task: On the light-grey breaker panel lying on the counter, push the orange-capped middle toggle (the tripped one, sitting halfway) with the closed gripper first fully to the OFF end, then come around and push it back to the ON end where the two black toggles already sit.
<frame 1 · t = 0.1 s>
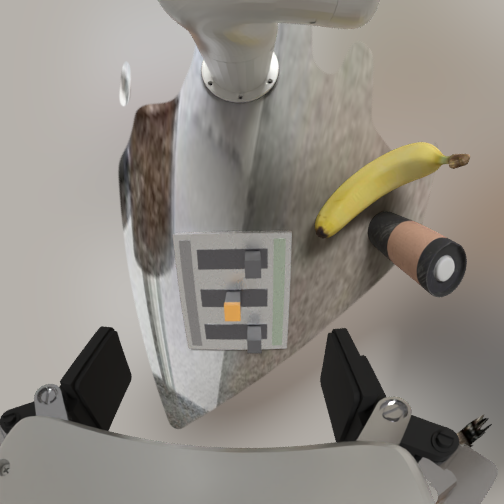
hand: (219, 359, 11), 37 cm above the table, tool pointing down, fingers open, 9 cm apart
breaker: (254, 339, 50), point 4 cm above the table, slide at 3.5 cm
travel mug: (384, 229, 47), on the table
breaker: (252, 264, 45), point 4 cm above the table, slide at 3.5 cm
panel: (234, 294, 51), on the table
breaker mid: (233, 305, 47), point 4 cm above the table, slide at 0.0 cm
banana: (357, 185, 45), on the table
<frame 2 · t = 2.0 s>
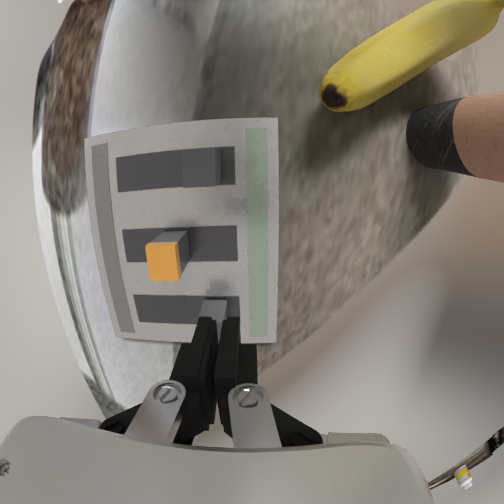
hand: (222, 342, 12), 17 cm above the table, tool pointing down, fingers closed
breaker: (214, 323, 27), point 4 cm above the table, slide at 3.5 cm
travel mug: (429, 137, 25), on the table
supplement bottle: (459, 468, 62), on the table
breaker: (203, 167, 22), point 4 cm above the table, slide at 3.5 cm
panel: (181, 240, 28), on the table
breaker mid: (169, 253, 24), point 4 cm above the table, slide at 0.0 cm
banana: (381, 63, 22), on the table
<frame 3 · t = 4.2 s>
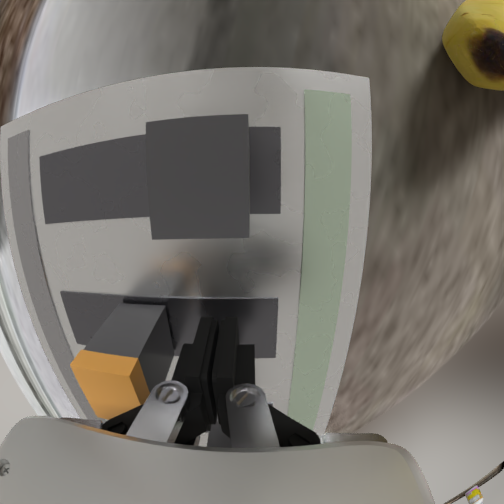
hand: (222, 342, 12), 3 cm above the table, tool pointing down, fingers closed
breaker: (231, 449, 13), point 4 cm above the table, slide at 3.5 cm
supplement bottle: (470, 488, 48), on the table
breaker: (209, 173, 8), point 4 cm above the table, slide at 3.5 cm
panel: (166, 312, 15), on the table
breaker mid: (130, 360, 11), point 4 cm above the table, slide at -0.6 cm, touching gripper
banana: (485, 34, 9), on the table
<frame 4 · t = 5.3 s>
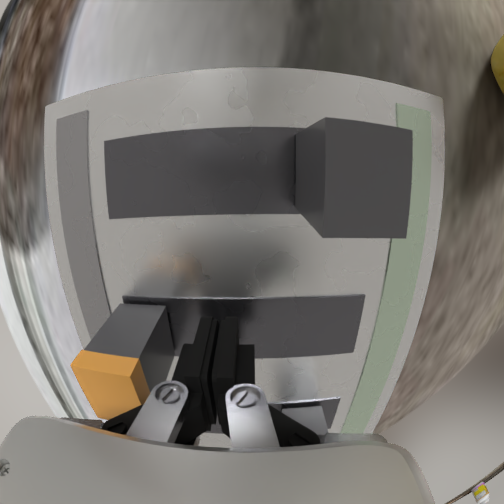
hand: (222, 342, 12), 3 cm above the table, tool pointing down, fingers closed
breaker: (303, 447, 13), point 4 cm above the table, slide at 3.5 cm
supplement bottle: (477, 485, 48), on the table
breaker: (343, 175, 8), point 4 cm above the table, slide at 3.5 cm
panel: (243, 314, 15), on the table
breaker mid: (131, 360, 11), point 4 cm above the table, slide at -4.8 cm, touching gripper
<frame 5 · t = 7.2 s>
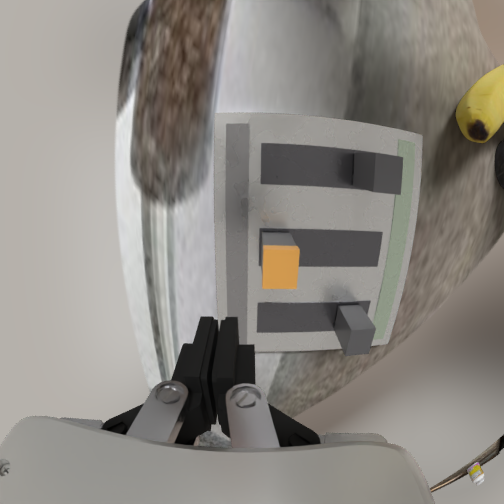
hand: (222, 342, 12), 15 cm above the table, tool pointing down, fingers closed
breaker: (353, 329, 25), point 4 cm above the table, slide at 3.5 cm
supplement bottle: (472, 465, 62), on the table
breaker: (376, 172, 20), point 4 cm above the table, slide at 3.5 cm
panel: (319, 243, 27), on the table
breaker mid: (277, 258, 23), point 4 cm above the table, slide at -4.6 cm
banana: (481, 97, 21), on the table
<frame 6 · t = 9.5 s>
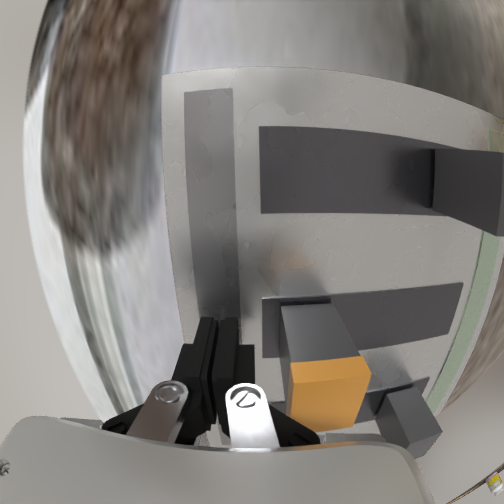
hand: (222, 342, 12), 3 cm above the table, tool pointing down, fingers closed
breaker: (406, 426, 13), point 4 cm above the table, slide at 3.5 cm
supplement bottle: (490, 475, 48), on the table
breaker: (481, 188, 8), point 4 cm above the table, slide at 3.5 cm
panel: (365, 307, 15), on the table
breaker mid: (315, 364, 11), point 4 cm above the table, slide at -3.9 cm, touching gripper
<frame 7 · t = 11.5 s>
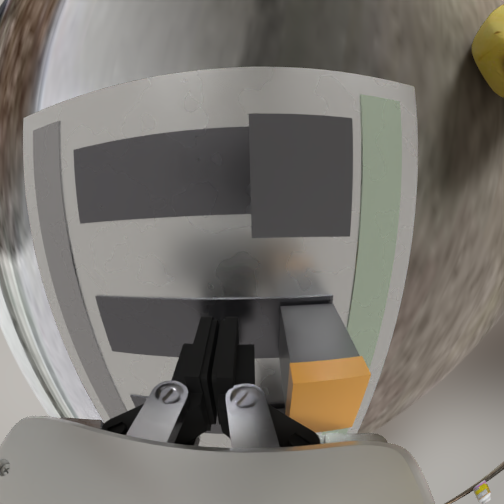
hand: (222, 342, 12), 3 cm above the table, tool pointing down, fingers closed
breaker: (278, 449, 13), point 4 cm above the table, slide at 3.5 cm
supplement bottle: (478, 483, 48), on the table
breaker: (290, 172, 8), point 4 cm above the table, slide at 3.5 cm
panel: (212, 314, 15), on the table
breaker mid: (314, 364, 11), point 4 cm above the table, slide at 4.7 cm, touching gripper
banana: (502, 43, 8), on the table
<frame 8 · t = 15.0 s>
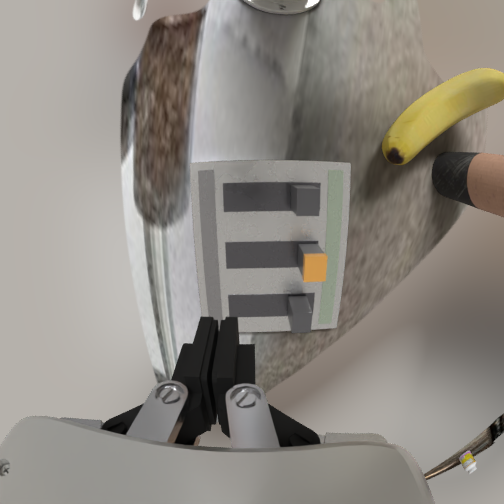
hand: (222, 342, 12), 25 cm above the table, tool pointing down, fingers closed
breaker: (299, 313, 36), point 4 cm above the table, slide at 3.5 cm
travel mug: (447, 174, 34), on the table
supplement bottle: (463, 453, 71), on the table
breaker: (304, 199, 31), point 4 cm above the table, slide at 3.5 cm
panel: (271, 250, 37), on the table
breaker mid: (311, 261, 33), point 4 cm above the table, slide at 4.6 cm
banana: (418, 117, 31), on the table
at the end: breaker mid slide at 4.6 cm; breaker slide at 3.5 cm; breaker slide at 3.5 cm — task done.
